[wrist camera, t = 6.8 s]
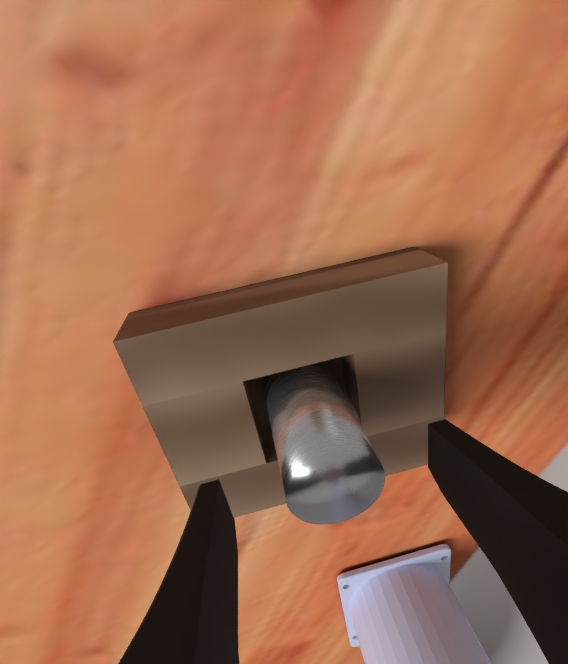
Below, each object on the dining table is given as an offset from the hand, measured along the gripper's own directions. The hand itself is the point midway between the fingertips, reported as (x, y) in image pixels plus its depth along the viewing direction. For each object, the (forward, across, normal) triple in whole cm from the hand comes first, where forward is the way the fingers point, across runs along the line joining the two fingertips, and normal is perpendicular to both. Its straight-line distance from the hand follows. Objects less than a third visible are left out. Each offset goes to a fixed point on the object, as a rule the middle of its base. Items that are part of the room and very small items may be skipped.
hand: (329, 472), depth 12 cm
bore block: (+6, 0, 0) cm, 6 cm away
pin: (+5, 0, 0) cm, 5 cm away
